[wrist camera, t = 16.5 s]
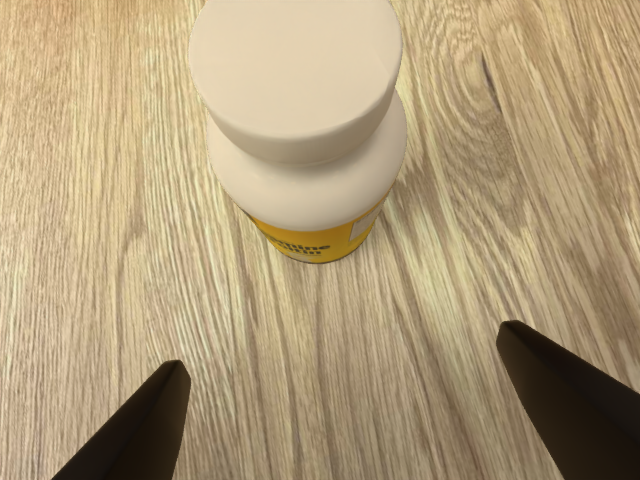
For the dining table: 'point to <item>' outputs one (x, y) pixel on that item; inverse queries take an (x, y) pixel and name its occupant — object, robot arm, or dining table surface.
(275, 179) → the pill bottle
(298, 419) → the dining table surface
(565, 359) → the robot arm
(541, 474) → the dining table surface
